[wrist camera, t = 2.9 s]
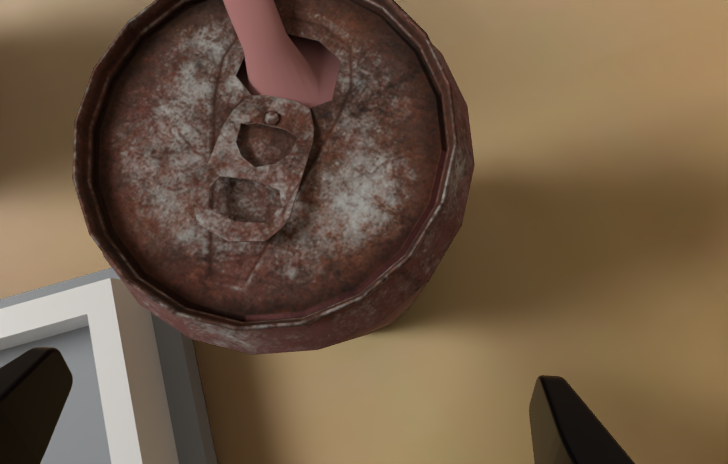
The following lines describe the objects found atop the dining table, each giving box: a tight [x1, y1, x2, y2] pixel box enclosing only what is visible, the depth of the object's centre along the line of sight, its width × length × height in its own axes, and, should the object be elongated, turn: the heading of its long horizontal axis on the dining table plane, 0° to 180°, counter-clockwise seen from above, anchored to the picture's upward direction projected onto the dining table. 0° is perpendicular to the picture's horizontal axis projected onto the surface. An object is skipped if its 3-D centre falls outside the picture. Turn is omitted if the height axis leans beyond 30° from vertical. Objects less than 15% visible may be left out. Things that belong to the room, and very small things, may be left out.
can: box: [73, 0, 474, 355], centre depth 14 cm, size 6×6×14 cm
